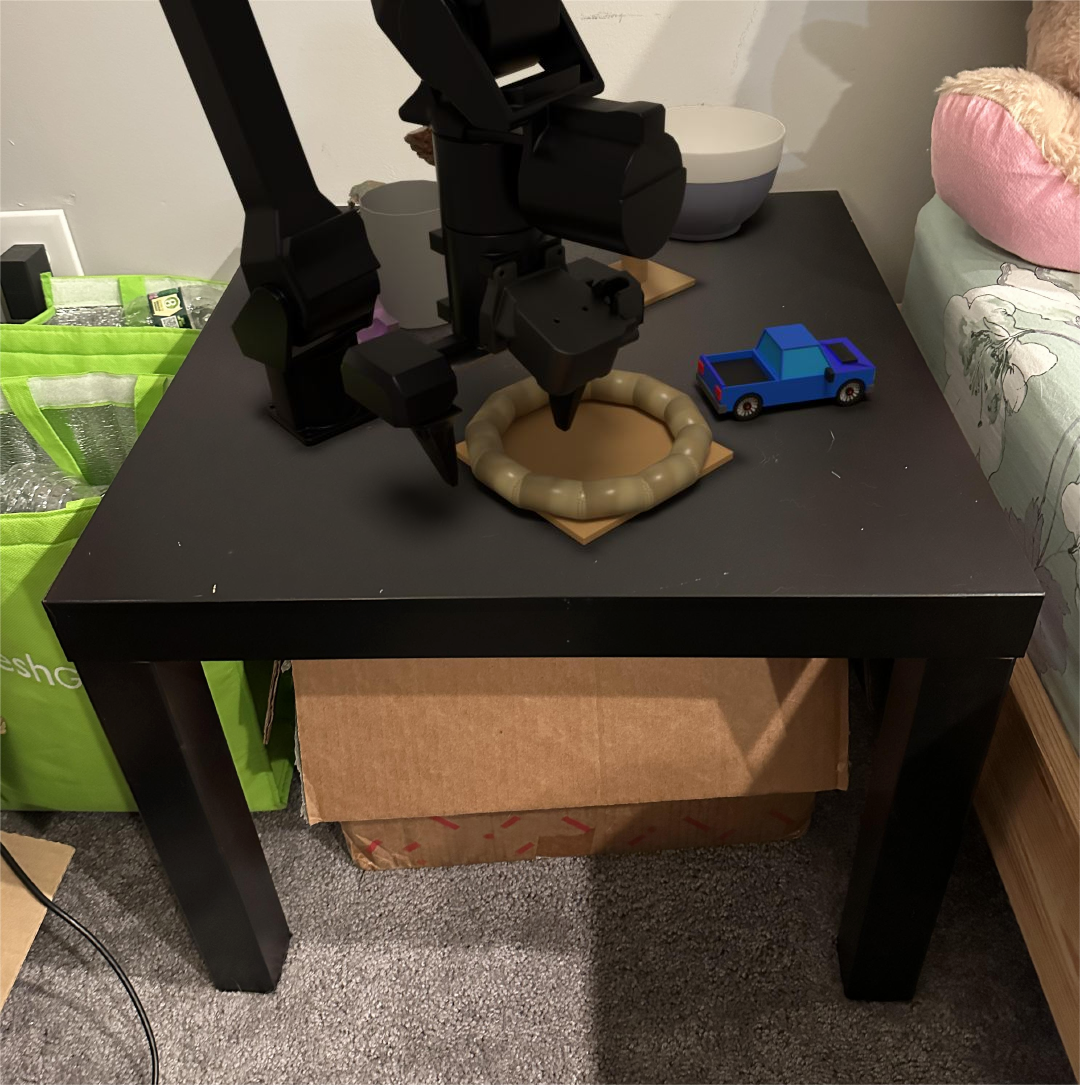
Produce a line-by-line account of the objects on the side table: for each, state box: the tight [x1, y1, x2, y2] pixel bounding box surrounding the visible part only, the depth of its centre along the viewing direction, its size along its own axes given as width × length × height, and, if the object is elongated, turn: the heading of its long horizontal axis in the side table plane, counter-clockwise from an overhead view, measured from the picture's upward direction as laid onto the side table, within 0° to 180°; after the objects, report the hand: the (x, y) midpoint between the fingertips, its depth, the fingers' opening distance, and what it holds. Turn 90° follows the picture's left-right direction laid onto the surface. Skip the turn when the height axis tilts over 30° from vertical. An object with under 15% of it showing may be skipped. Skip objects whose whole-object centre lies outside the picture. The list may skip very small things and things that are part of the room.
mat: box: [456, 399, 734, 546], centre depth 67 cm, size 14×14×1 cm
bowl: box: [665, 104, 787, 242], centre depth 96 cm, size 16×16×10 cm
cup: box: [358, 179, 449, 330], centre depth 83 cm, size 8×8×10 cm
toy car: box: [695, 323, 877, 421], centre depth 71 cm, size 7×12×5 cm, turn 101°
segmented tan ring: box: [464, 368, 714, 520], centre depth 66 cm, size 17×17×2 cm
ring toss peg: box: [606, 254, 696, 308], centre depth 86 cm, size 8×8×7 cm
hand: (508, 455), depth 61 cm, fingers open, 9 cm apart
